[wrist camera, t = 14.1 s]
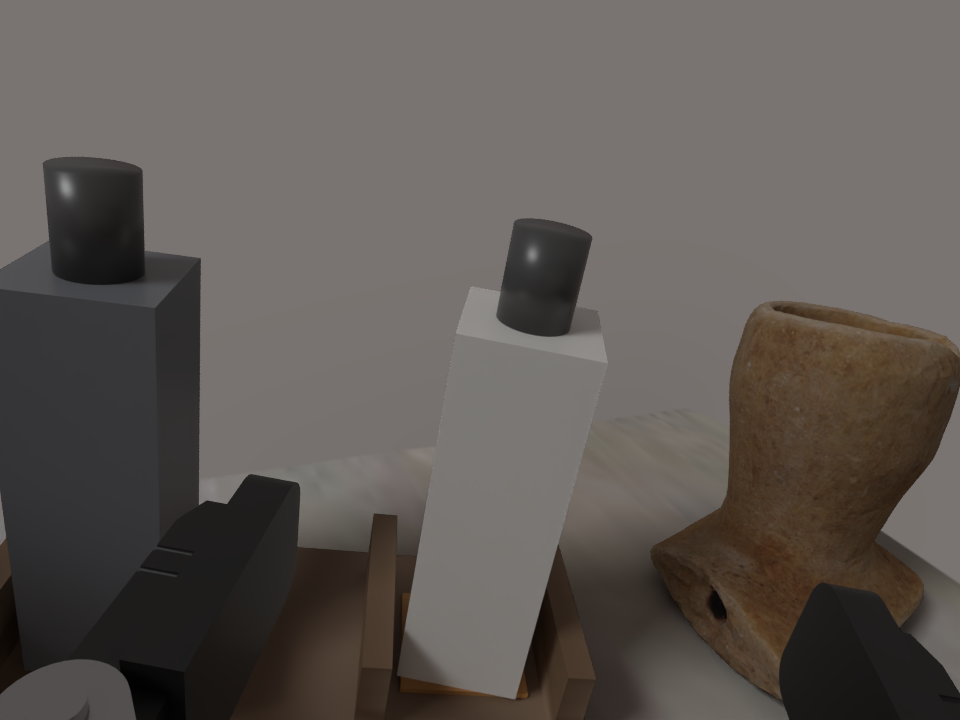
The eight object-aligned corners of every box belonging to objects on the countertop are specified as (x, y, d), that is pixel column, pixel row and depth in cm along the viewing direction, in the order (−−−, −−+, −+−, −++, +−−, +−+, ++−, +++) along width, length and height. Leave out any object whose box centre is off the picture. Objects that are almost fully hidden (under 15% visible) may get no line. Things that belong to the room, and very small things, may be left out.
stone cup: (747, 489, 45) (835, 268, 39) (938, 614, 37) (1087, 359, 31) (580, 557, 36) (661, 284, 30) (785, 742, 28) (953, 418, 22)
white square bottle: (519, 611, 30) (619, 227, 23) (515, 699, 26) (634, 264, 19) (417, 591, 30) (486, 201, 23) (396, 675, 26) (473, 233, 19)
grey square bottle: (198, 585, 29) (201, 165, 22) (162, 677, 25) (152, 197, 18) (80, 577, 28) (44, 141, 21) (24, 670, 24) (-44, 168, 17)
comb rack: (542, 582, 34) (560, 515, 32) (589, 783, 25) (618, 705, 23) (53, 546, 30) (46, 470, 29) (-97, 764, 21) (-120, 671, 20)
